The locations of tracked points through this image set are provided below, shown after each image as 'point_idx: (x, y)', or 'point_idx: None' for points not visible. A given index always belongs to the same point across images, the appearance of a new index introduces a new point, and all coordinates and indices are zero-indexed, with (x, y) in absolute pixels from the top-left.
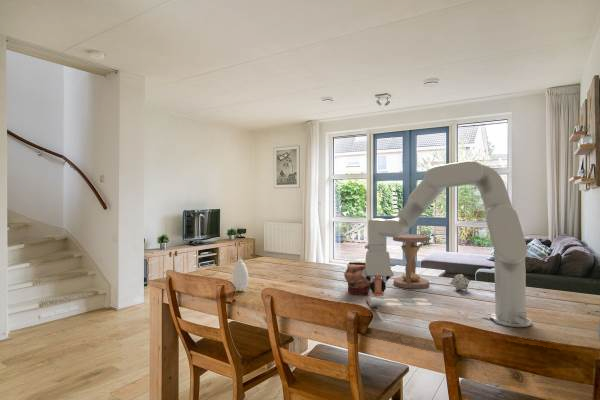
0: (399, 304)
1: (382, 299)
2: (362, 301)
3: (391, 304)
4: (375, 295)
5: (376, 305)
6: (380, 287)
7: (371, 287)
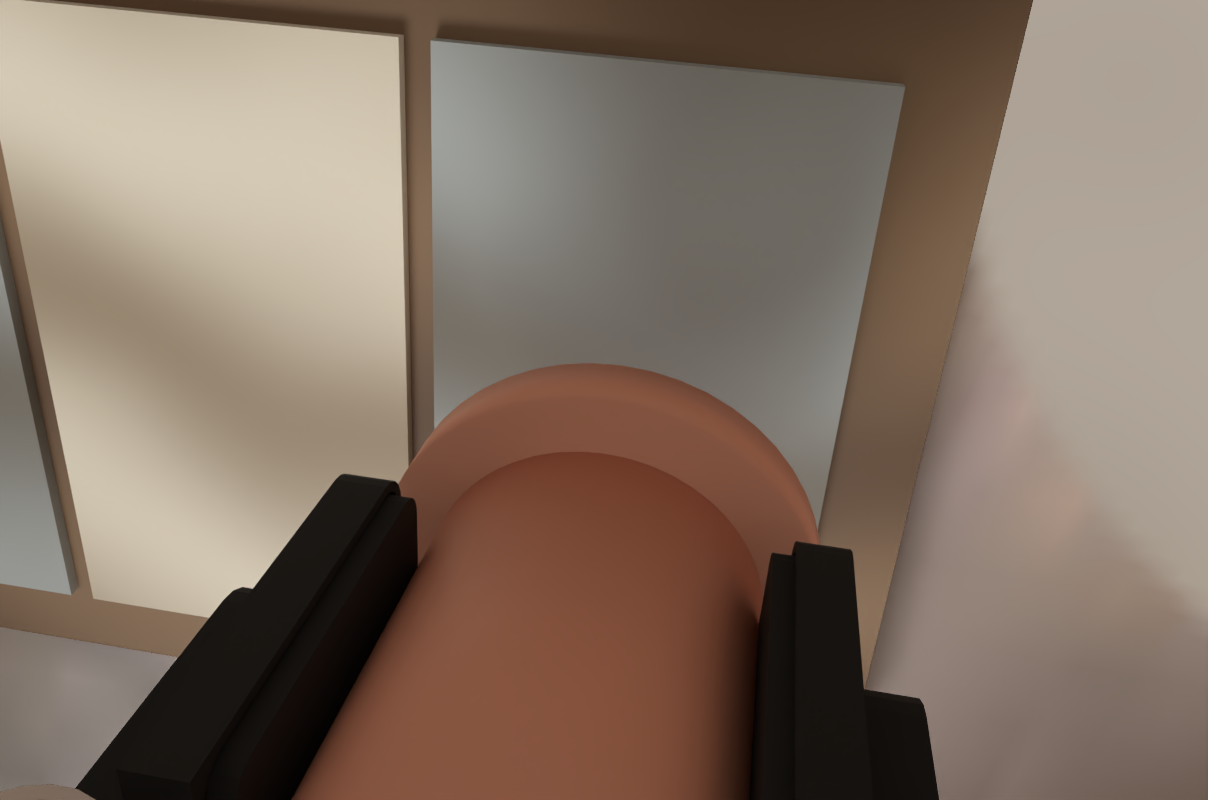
0: (51, 79)
1: None
2: (968, 701)
3: (288, 112)
4: (740, 430)
5: (799, 78)
6: (439, 629)
7: (887, 757)
